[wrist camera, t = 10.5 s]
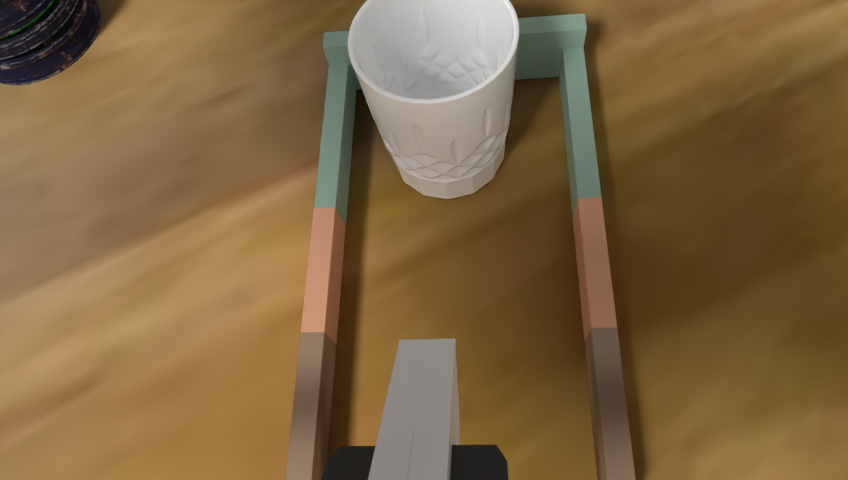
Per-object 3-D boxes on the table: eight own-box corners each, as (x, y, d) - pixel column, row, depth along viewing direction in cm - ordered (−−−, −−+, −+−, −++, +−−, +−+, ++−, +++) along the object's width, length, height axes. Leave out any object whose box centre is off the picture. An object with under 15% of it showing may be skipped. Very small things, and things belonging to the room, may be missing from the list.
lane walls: (627, 513, 27) (639, 513, 25) (299, 507, 29) (282, 507, 27) (608, 341, 30) (617, 327, 28) (314, 345, 32) (301, 332, 30)
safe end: (594, 218, 33) (606, 182, 30) (325, 227, 35) (305, 195, 31) (576, 60, 38) (584, 13, 34) (340, 75, 40) (324, 32, 36)
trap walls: (608, 341, 30) (617, 327, 28) (314, 345, 32) (301, 332, 30) (594, 218, 33) (601, 197, 31) (325, 227, 35) (313, 208, 33)
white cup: (540, 139, 36) (554, 13, 27) (458, 233, 34) (444, 133, 25) (439, 79, 39) (421, -53, 30) (358, 164, 37) (312, 50, 28)
